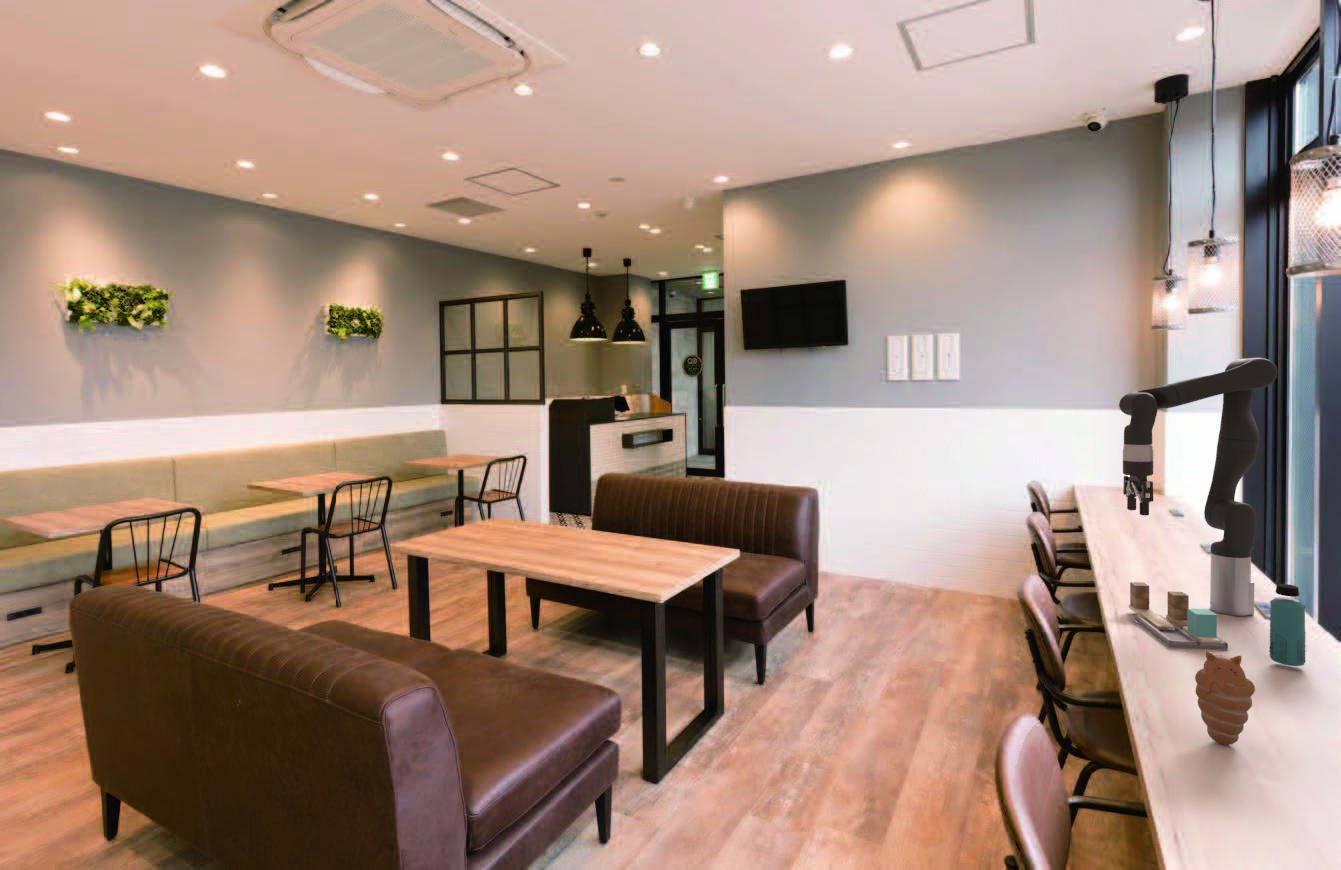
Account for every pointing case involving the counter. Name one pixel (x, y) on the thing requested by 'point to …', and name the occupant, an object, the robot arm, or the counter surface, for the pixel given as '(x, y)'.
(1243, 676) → the cat ice cream
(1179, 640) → the lane board
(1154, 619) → the cube strip
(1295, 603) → the beverage bottle
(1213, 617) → the teal cube
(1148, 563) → the counter surface
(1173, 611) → the short strip
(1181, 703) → the counter surface
